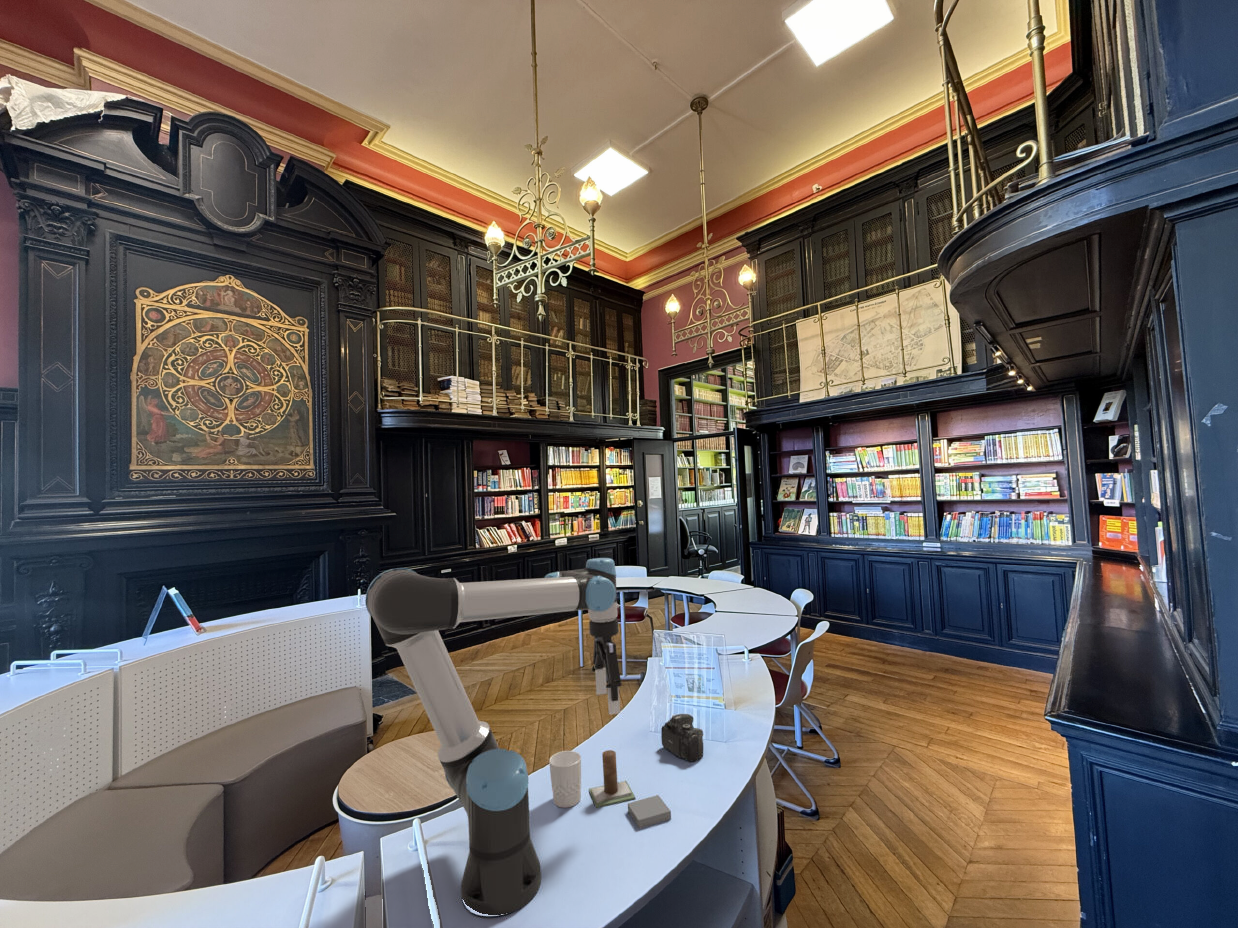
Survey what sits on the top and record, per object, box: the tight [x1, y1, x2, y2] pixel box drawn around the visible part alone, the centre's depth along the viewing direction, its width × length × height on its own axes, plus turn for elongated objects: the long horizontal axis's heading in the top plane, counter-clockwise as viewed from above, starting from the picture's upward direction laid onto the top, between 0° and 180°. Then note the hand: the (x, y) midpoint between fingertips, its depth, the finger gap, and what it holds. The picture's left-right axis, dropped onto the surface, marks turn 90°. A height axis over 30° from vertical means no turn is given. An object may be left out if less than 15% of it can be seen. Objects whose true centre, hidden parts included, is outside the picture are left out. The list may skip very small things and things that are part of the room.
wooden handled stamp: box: [591, 749, 632, 803], centre depth 128 cm, size 9×6×10 cm, turn 106°
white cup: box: [548, 750, 582, 809], centre depth 127 cm, size 8×8×10 cm
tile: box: [627, 794, 672, 829], centre depth 119 cm, size 8×2×7 cm
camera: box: [660, 713, 704, 762], centre depth 148 cm, size 13×10×10 cm
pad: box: [588, 780, 636, 809], centre depth 128 cm, size 10×8×1 cm
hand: (607, 703), depth 130 cm, fingers open, 13 cm apart
